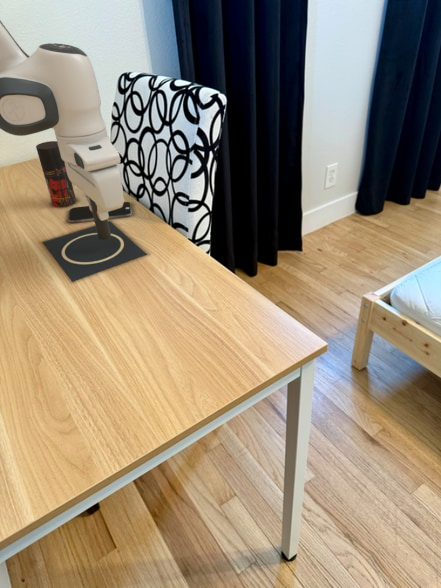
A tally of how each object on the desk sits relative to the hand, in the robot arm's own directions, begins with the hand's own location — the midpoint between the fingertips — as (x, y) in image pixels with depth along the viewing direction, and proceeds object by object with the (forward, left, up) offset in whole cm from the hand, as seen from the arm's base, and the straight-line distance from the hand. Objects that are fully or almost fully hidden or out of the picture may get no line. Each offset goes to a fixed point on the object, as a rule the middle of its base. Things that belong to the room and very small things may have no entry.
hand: (99, 215), depth 86 cm
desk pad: (-2, +3, -8) cm, 9 cm away
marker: (0, 0, -5) cm, 5 cm away
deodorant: (+1, +30, -9) cm, 31 cm away
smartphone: (+6, +18, -8) cm, 20 cm away
